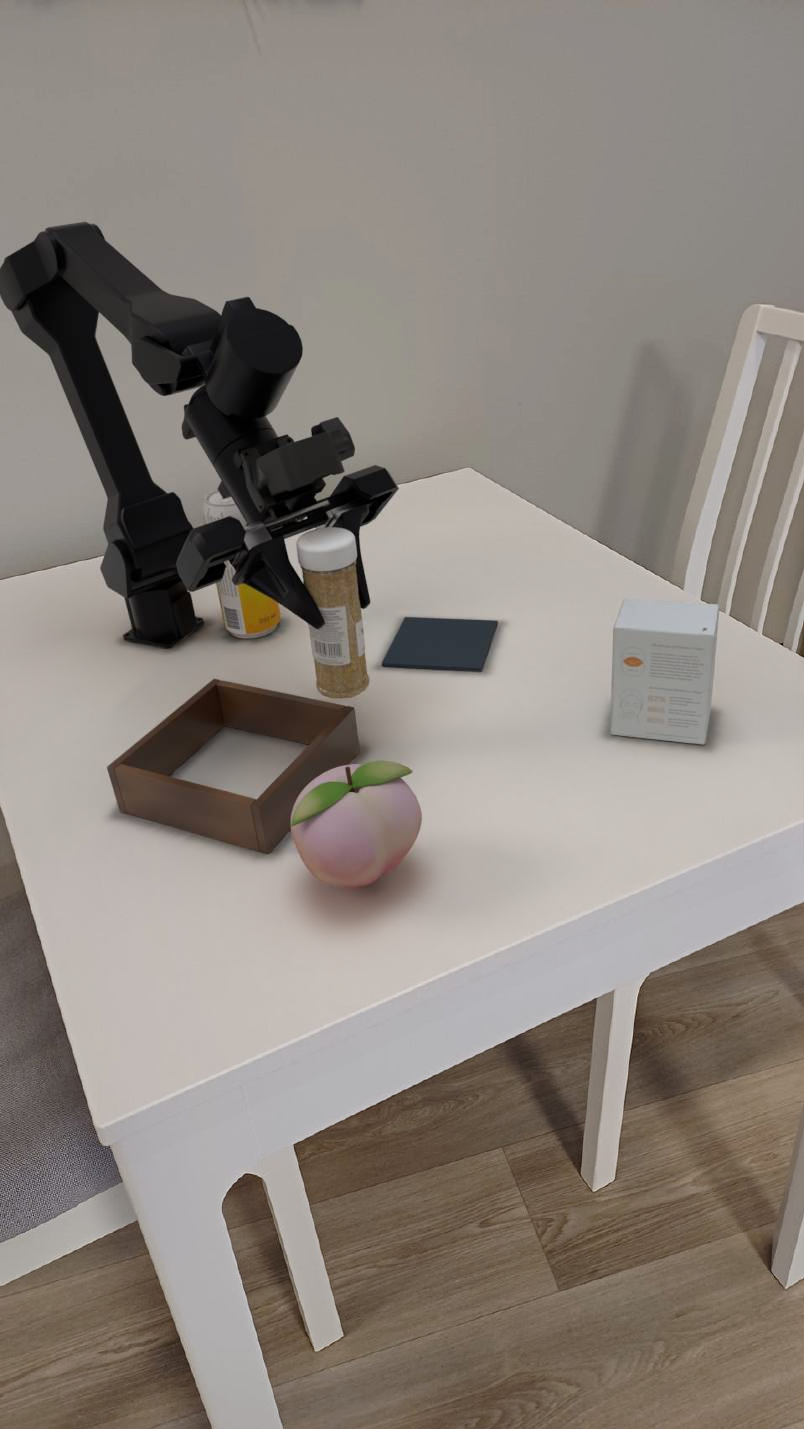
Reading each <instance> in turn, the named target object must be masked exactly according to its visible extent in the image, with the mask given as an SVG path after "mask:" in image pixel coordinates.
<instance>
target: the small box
mask: <svg viewBox="0 0 804 1429" xmlns="http://www.w3.org/2000/svg"><path fill="white" fill-rule="evenodd" d="M719 617H720V604H717V603H701V602H688V601H687V602H686V601H685V602H684V601H671V600H655V599H639V598H629V597H628V598H627V597H626V598H624V599H623V600H622V602H621V606H620V608H619V611H618V614H617V616H616V619H615V622H614V625H613V628H612V654H611V656H612V657H611V658H612V659H611V660H612V661H611V689H610V690H611V692H610V693H611V694H610V728H609V732H610V734H611V735H614V736H622V737H631V738H638V739H639V738H640V739H647V740H648V739H649V740H658V741H667V742H668V741H669V742H677V743H685V744H693V745H705V744H706V742H707V736H708V729H709V724H710V716H711V708H712V700H713V699H712V698H713V691H714V690H713V688H714V677H715V667H716V656H717V644H718V642H717V641H718V630H719Z"/></svg>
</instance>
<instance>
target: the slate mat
mask: <svg viewBox="0 0 804 1429" xmlns="http://www.w3.org/2000/svg"><path fill="white" fill-rule="evenodd" d="M498 622H499V620H494V619H493V620H492V619H470V618H469V619H466V618H443V617H441V618H440V617H419V616H418V617H416V616H414V617H413V616H404V618H403V619H402V622H401V624H400V625H399V627H398V629H397V631H396V634H395V636H394V638H393V640H392V642H391V643H390V646H389V648H388V650H387V652H386V654H385V656H384V657H383V660H382V662H381V667H384V668H385V667H387V668H402V669H403V668H405V669H406V668H408V669H424V670H425V669H427V670H442V671H443V670H445V671H462V672H463V671H464V672H479V673H480V672H483V669H484V666H485V664H486V660H487V657H488V654H489V651H490V648H491V645H492V642H493V640H494V637H495V633H496V630H497V627H498V624H499V623H498Z"/></svg>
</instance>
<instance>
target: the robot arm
mask: <svg viewBox="0 0 804 1429" xmlns="http://www.w3.org/2000/svg"><path fill="white" fill-rule="evenodd" d="M0 299H1V300H2V303H3V305H4V306H5V308H6V309H7V310H8V311H10V312H11V314H12V316H13V318H14V320H15V322H16V324H17V326H18V328H19V330H20V332H21V333H22V334H23V335H24V336H25V337H27V339H29V340H30V341H31V342H32V343H34V344H35V345H36V346H37V347H39V348H40V349H41V350H42V351H43V352H45V353H46V354H47V355H48V357H49V358H50V361H51V364H52V366H53V368H54V370H55V373H56V375H57V377H58V381H59V383H60V385H61V387H62V390H63V392H64V394H65V397H66V399H67V402H68V404H69V407H70V410H71V412H72V414H73V417H74V419H75V422H76V424H77V426H78V429H79V431H80V434H81V437H82V438H83V439H82V440H83V442H84V444H85V446H86V449H87V451H88V453H89V456H90V459H91V461H92V463H93V466H94V468H95V471H96V473H97V475H98V478H99V480H100V482H101V485H102V488H103V490H104V493H105V495H106V499H107V501H106V507H105V512H104V513H105V514H104V519H103V526H102V530H103V533H104V536H105V539H106V542H107V546H106V550H105V553H104V555H103V559H102V561H101V563H100V566H99V569H100V572H101V575H102V577H103V580H104V582H105V585H106V587H107V588H108V589H109V590H111V591H113V592H115V593H116V594H118V595H120V596H121V597H123V598H124V602H125V606H126V610H127V615H128V619H129V622H130V626H131V629H129V630H128V631H127V632H124V634H122V639H123V640H124V641H128V642H132V643H138V644H142V645H148V646H152V647H158V648H162V649H163V648H164V649H171V648H173V647H174V646H175V645H177V644H178V643H180V642H181V641H182V640H185V638H186V637H187V636H189V635H191V634H192V633H193V632H194V631H196V630H197V629H199V628H200V627H201V626H202V625H204V624H205V618H203V617H200V616H196V613H195V607H194V602H193V599H192V593H194V592H196V591H199V590H201V589H204V588H206V587H209V586H212V585H214V584H215V585H216V583H217V582H220V581H221V580H222V578H223V576H224V572H225V569H226V565H225V563H224V562H225V561H228V560H229V562H230V563H231V565H232V566H233V568H234V569H235V571H236V573H235V574H234V576H233V578H232V579H231V581H232V582H233V584H234V585H240V584H246V585H248V586H250V587H251V588H253V589H255V590H257V591H259V592H260V593H262V594H264V595H266V596H268V597H269V598H271V599H273V600H275V601H276V602H278V604H279V605H281V606H282V607H283V608H285V609H286V610H288V611H290V612H291V613H292V614H293V615H295V616H296V617H298V618H300V619H301V620H302V621H304V622H305V623H306V624H307V625H308V624H310V625H311V626H313V627H314V628H315V629H320V628H322V626H323V625H324V624H325V621H324V619H323V617H322V615H321V613H320V611H319V608H318V607H317V605H316V603H315V601H314V600H313V598H312V597H311V595H310V593H309V592H308V590H307V589H306V587H305V585H304V584H303V580H302V579H301V578H300V576H299V574H298V572H297V571H296V570H295V568H294V566H293V565H292V563H291V560H290V558H289V553H288V549H287V545H286V541H285V540H286V539H289V538H291V537H294V536H297V535H301V534H303V533H306V532H308V531H311V530H314V529H319V528H326V527H336V528H343V529H346V530H349V531H350V532H352V533H353V534H354V536H355V541H356V549H357V558H356V565H355V566H356V574H357V584H358V595H359V601H360V606H361V610H365V609H367V608H368V607H369V606H370V604H371V597H370V592H369V588H368V582H367V578H366V574H365V567H364V562H363V557H362V552H361V540H360V530H361V528H362V527H364V526H366V525H369V524H370V523H372V522H374V521H375V520H376V518H377V517H378V516H379V515H380V514H381V513H382V511H383V510H384V508H385V507H386V506H387V505H388V503H389V502H390V501H391V500H392V498H393V497H394V496H395V494H397V492H398V491H399V489H400V487H399V486H398V484H397V483H396V480H394V478H393V476H392V474H391V473H390V472H389V470H388V469H387V468H386V467H383V466H380V465H377V464H374V465H371V466H368V467H365V468H362V469H360V470H357V471H354V472H350V473H348V474H346V475H343V476H342V478H341V479H340V481H339V482H338V484H337V485H336V486H335V488H334V489H333V491H332V492H331V494H330V496H327V497H324V498H321V499H319V500H317V499H316V495H318V494H320V493H322V492H323V490H324V489H325V487H326V486H327V483H326V481H325V480H324V478H327V477H329V476H331V475H332V476H337V475H341V474H343V473H345V472H346V470H345V468H344V465H343V462H344V461H346V460H348V459H351V458H352V457H354V456H355V453H356V446H355V444H354V441H353V438H352V436H351V433H350V432H349V430H348V429H347V428H346V426H345V424H344V423H343V422H342V420H341V419H340V418H339V417H338V416H336V417H333V418H329V419H326V420H323V421H320V422H319V424H315V425H313V426H311V428H310V434H311V436H309V437H305V438H302V439H299V440H296V441H295V440H294V439H293V437H291V436H289V434H283V435H281V436H280V435H278V433H277V432H276V431H275V429H274V427H273V425H272V424H271V421H270V420H269V418H268V417H267V416H268V415H270V414H271V413H273V412H274V411H275V409H276V408H277V407H278V405H279V403H280V401H281V399H282V397H283V395H284V393H285V391H286V389H287V387H288V385H289V384H290V381H291V380H292V378H293V376H294V374H295V372H296V370H297V368H298V366H299V364H300V362H301V360H302V357H303V351H304V350H303V349H304V347H303V342H302V338H301V336H300V334H299V332H298V331H297V329H296V327H295V326H294V325H292V324H289V323H288V322H287V321H286V320H285V319H284V318H283V317H281V316H280V315H278V314H276V313H274V312H271V311H270V310H267V309H262V308H259V307H256V305H255V303H254V302H253V301H252V299H251V297H250V296H245V297H240V298H239V297H238V298H233V299H230V300H225V302H224V306H223V308H222V309H221V310H222V311H221V314H220V313H219V311H217V310H216V309H215V308H212V307H210V306H209V305H207V304H205V303H203V302H202V301H199V300H198V299H196V298H192V297H187V296H181V295H176V294H171V293H169V292H167V291H165V290H164V289H162V288H161V287H159V285H157V284H156V283H155V282H154V281H153V280H151V278H149V277H148V276H147V275H146V274H144V272H143V271H141V270H140V269H139V268H138V267H137V266H135V265H134V264H133V263H132V262H131V261H130V260H129V259H127V258H126V257H125V255H123V254H122V253H121V252H120V251H118V250H117V249H116V248H115V247H114V246H113V245H111V243H109V242H108V241H107V240H106V238H105V236H104V234H103V231H102V229H101V228H100V227H99V226H98V224H95V223H89V222H87V221H81V222H80V221H79V222H75V223H74V222H73V223H68V224H61V225H53V226H49V227H46V228H45V229H44V230H43V231H40V232H38V234H37V235H36V237H35V239H34V240H33V241H31V242H29V243H28V244H26V245H24V246H23V247H21V248H19V249H18V250H16V251H14V252H12V253H11V254H9V255H7V256H6V257H4V259H3V262H2V264H1V265H0ZM99 315H102V316H103V317H104V318H105V319H106V320H107V322H108V323H110V324H111V325H112V326H113V327H114V328H115V329H116V330H118V332H120V334H122V335H123V337H125V339H126V340H127V341H128V343H129V344H130V348H131V350H130V351H131V365H132V366H133V367H134V368H135V370H136V371H137V372H138V374H139V375H140V377H141V378H142V380H143V381H144V382H145V383H146V384H148V386H149V387H150V388H151V389H152V390H153V391H154V392H155V393H157V394H158V395H159V396H162V397H167V396H172V395H176V394H180V393H183V392H188V391H190V390H194V389H196V390H195V391H194V393H192V395H191V396H190V399H189V401H188V403H186V404H184V405H183V420H182V423H181V436H182V437H183V438H184V440H191V439H194V438H196V440H197V442H198V443H199V446H200V447H201V449H202V450H203V452H204V453H205V455H206V457H207V458H208V461H209V462H210V464H211V465H212V467H213V469H214V471H215V472H216V474H217V475H218V477H219V479H220V480H221V481H220V483H219V485H218V487H217V489H218V491H219V493H220V494H221V496H222V498H223V499H226V498H229V497H232V499H233V501H234V502H235V504H236V506H237V507H238V509H239V511H240V512H241V514H242V516H243V518H244V519H245V521H246V523H247V524H246V526H245V527H243V526H242V524H241V522H240V521H239V520H238V519H236V518H233V517H231V516H228V517H225V518H222V519H220V520H217V521H214V522H211V523H208V524H202V525H200V526H197V527H194V526H193V524H192V523H191V522H190V521H189V519H188V517H187V515H186V513H185V509H184V506H183V502H182V499H181V498H180V497H179V495H177V493H175V492H174V491H171V492H167V491H166V490H164V489H163V488H162V487H160V486H159V485H158V484H157V483H156V482H154V480H153V478H152V476H151V473H150V471H149V468H148V466H147V463H146V461H145V458H144V455H143V453H142V450H141V448H140V445H139V443H138V441H137V438H136V436H135V433H134V430H133V428H132V426H131V423H130V420H129V418H128V416H127V415H128V414H127V412H126V410H125V408H124V404H123V403H122V400H121V397H120V396H119V393H118V391H117V388H116V385H115V383H114V380H113V378H112V375H111V373H110V370H109V368H108V365H107V362H106V360H105V358H104V355H103V353H102V350H101V347H100V346H99V343H98V339H97V337H96V334H97V329H98V321H99Z"/></svg>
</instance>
